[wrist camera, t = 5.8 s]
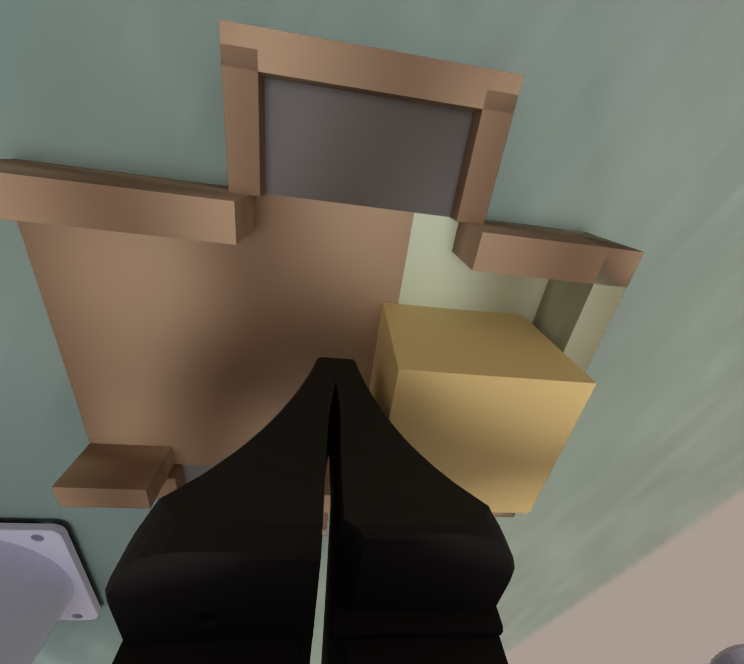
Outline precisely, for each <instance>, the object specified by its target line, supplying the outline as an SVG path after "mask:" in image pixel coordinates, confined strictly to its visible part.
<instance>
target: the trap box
mask: <svg viewBox="0 0 744 664" xmlns="http://www.w3.org/2000/svg"><path fill="white" fill-rule="evenodd" d="M219 29H220V47H221V65H222V82H223V100H224V118H225V135H226V153H227V171H228V186H220V185H212V184H204V183H196V182H189V181H181V180H173V179H165V178H157V177H150V176H142V175H134V174H126V173H118V172H111V171H103V170H95V169H87V168H80V167H72V166H64V165H56V164H48V163H41V162H33V161H25V160H17V159H0V219H6V220H15V221H17V222H18V225H19V228H20V231H21V234H22V237H23V240H24V244H25V247H26V250H27V253H28V256H29V259H30V262H31V265H32V268H33V271H34V274H35V277H36V280H37V283H38V286H39V289H40V292H41V295H42V298H43V301H44V304H45V307H46V310H47V313H48V316H49V319H50V322H51V325H52V328H53V331H54V335H55V338H56V341H57V344H58V347H59V350H60V353H61V356H62V359H63V362H64V365H65V368H66V371H67V374H68V377H69V380H70V383H71V386H72V389H73V392H74V395H75V398H76V401H77V404H78V407H79V410H80V413H81V416H82V419H83V422H84V426H85V429H86V432H87V435H88V438H89V441H90V444H89V445H88V446H87V447H86V449H85V450H84V451H83V452H82V453H81V454H80V455H79V457H78V458H77V459H76V460H75V461H74V462H73V463H72V464H71V466H70V467H69V468H68V469H67V470H66V471H65V472H64V474H63V475H62V476H61V477H60V478H59V479H58V480H57V482H56V483H55V484H54V485H53V486H52V489H53V492H54V494H55V496H56V499H57V501H58V503H59V506H65V507H108V508H151V506H152V505H153V503H154V501H155V499H156V497H157V495H158V500H159V499H160V498H161V497H163V496H165V495H167V494H169V493H171V492H172V491H174V490H176V489H178V488H179V487H181V486H183V485H185V484H186V483H188V482H190V481H192V480H193V479H195V478H197V477H199V476H200V475H202V474H204V473H205V472H207V471H208V470H210V469H211V468H213V467H214V466H215V465H217V464H218V463H220V462H221V461H222V460H224V459H225V458H227V457H228V456H230V455H231V454H232V453H234V452H235V451H237V450H238V449H239V448H240V447H242V446H243V445H244V444H245V443H247V442H248V441H249V440H250V439H251V438H253V437H254V436H255V435H256V434H257V433H258V432H259V431H261V430H262V429H263V428H264V427H265V426H266V425H267V424H268V423H269V422H270V421H271V420H272V419H273V418H274V417H275V416H276V415H277V414H278V413H279V412H280V411H281V410H282V409H283V408H284V406H285V405H286V404H287V403H288V402H289V400H290V399H291V398H292V397H293V396H294V395H295V393H296V392H297V391H298V389H299V388H300V386H301V385H302V384H303V382H304V381H305V379H306V378H307V376H308V375H309V373H310V372H311V370H312V368H313V366H314V364H315V362H316V360H317V359H318V358H319V357H328V358H341V359H353V360H354V361H355V362H356V364H357V367H358V369H359V371H360V374H361V376H362V378H363V380H364V382H365V384H366V385H367V387H368V389H369V388H370V382H371V375H372V369H373V362H374V356H375V349H376V343H377V336H378V330H379V323H380V317H381V310H382V304H383V302H385V303H395V304H406V305H416V306H427V307H438V308H448V309H459V310H470V311H480V312H491V313H501V314H512V315H522V316H524V317H525V318H526V319H528V320H529V321H530V322H531V323H532V324H533V325H534V326H535V327H536V328H537V329H538V330H539V331H540V332H542V333H543V334H544V335H545V336H546V337H547V338H548V339H549V340H550V341H551V342H552V343H553V344H554V345H556V346H557V347H558V348H559V349H560V350H561V351H562V352H563V353H564V354H565V355H566V356H567V357H568V358H569V359H571V360H572V361H573V362H574V363H575V364H576V365H577V366H578V367H579V368H580V369H581V370H582V371H583V372H585V371H586V369H587V367H588V365H589V363H590V361H591V359H592V357H593V355H594V353H595V351H596V349H597V347H598V345H599V343H600V341H601V339H602V337H603V335H604V333H605V331H606V329H607V327H608V325H609V323H610V321H611V319H612V317H613V315H614V313H615V310H616V308H617V306H618V304H619V302H620V300H621V298H622V296H623V294H624V292H625V290H626V288H627V286H628V284H629V282H630V280H631V278H632V276H633V274H634V272H635V270H636V268H637V266H638V264H639V262H640V260H641V258H642V256H643V254H644V252H642V251H639V250H636V249H633V248H630V247H627V246H624V245H621V244H619V243H616V242H613V241H610V240H607V239H604V238H601V237H598V236H595V235H592V234H589V233H586V232H578V231H570V230H563V229H555V228H547V227H539V226H531V225H524V224H516V223H508V222H500V221H492V220H485V217H486V214H487V210H488V206H489V203H490V199H491V195H492V191H493V188H494V184H495V180H496V177H497V173H498V169H499V165H500V162H501V158H502V154H503V151H504V147H505V143H506V139H507V136H508V132H509V128H510V124H511V121H512V117H513V113H514V110H515V106H516V102H517V98H518V95H519V91H520V87H521V84H522V80H523V76H524V75H521V74H515V73H510V72H504V71H499V70H493V69H488V68H482V67H477V66H471V65H466V64H460V63H455V62H449V61H444V60H438V59H433V58H427V57H422V56H416V55H411V54H405V53H400V52H394V51H389V50H383V49H378V48H372V47H367V46H361V45H356V44H350V43H345V42H339V41H334V40H328V39H323V38H317V37H312V36H306V35H301V34H295V33H290V32H284V31H279V30H273V29H268V28H262V27H257V26H251V25H246V24H240V23H235V22H229V21H224V20H219ZM328 513H330V475H329V456H328V462H327V468H326V474H325V491H324V512H323V531H322V535H326V529H327V520H328ZM492 513H493V515H494V517H514V515H515V513H497V512H492Z"/></svg>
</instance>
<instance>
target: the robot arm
mask: <svg viewBox="0 0 744 664" xmlns="http://www.w3.org/2000/svg"><path fill="white" fill-rule="evenodd" d="M328 456H329V475H330V525H329V543H328V561H327V579H326V596H325V612H324V629H323V645H322V662H321V664H508V662H507V659H506V656H505V653H504V649H503V646H502V643H501V640H500V637H499V635H501V634H502V632H503V625H502V622H501V619H500V616H499V613H498V610H497V607H496V605H497V603H498V602H499V600H500V598H501V596H502V595H503V593H504V591H505V589H506V587H507V586H508V584H509V582H510V580H511V577H512V574H513V571H514V568H515V567H514V560H513V556H512V554H511V551H510V549H509V546H508V544H507V541H506V539H505V537H504V535H503V532H502V530H501V528H500V526H499V524H498V523H497V521H496V519H495V517H494V515H493V513H492V512H491V510H490V507H489V506H488V505H486V504H485V503H483V502H482V501H481V500H479V499H478V498H476V497H475V496H473V495H472V494H470V493H469V492H467V491H466V490H464V489H463V488H462V487H460V486H459V485H457V484H456V483H454V482H453V481H452V480H450V479H449V478H448V477H447V476H445V475H444V474H443V473H442V472H440V471H439V470H438V469H437V468H435V467H434V466H433V465H432V464H431V463H430V462H428V461H427V460H426V459H425V458H424V457H423V456H422V455H421V454H420V453H419V452H418V451H417V450H416V449H415V448H413V447H412V446H411V445H410V444H409V442H408V441H407V440H406V439H405V438H404V437H403V436H402V435H401V434H400V433H399V431H398V430H397V429H396V428H395V427H394V425H393V424H392V423H391V422H390V420H389V419H388V418H387V416H386V415H385V414H384V412H383V411H382V409H381V408H380V407H379V405H378V403H377V402H376V400H375V399H374V397H373V396H372V394H371V392H370V391H369V389H368V387H367V385H366V384H365V382H364V380H363V378H362V376H361V374H360V371H359V369H358V367H357V364H356V362H355V361H354V360H353V359H341V358H328V357H319V358H318V359H317V360H316V362H315V364H314V366H313V368H312V370H311V372H310V373H309V375H308V376H307V378H306V379H305V381H304V382H303V384H302V385H301V386H300V388H299V389H298V391H297V392H296V393H295V395H294V396H293V397H292V398H291V399H290V400H289V402H288V403H287V404H286V405H285V406H284V408H283V409H282V410H281V411H280V412H279V413H278V414H277V415H276V416H275V417H274V418H273V419H272V420H271V421H270V422H269V423H268V424H267V425H266V426H265V427H264V428H263V429H262V430H261V431H259V432H258V433H257V434H256V435H255V436H254V437H253V438H251V439H250V440H249V441H248V442H247V443H245V444H244V445H243V446H242V447H240V448H239V449H238V450H237V451H235V452H234V453H232V454H231V455H230V456H228V457H227V458H225V459H224V460H222V461H221V462H220V463H218V464H217V465H215V466H214V467H213V468H211V469H210V470H208V471H207V472H205V473H204V474H202V475H200V476H199V477H197V478H195V479H193V480H192V481H190V482H188V483H186V484H185V485H183V486H181V487H179V488H178V489H176V490H174V491H172V492H171V493H169V494H167V495H165V496H163V497H161V498H160V499H159V500H158V501H157V503H156V504H155V505H154V507H153V508H152V510H151V511H150V512H149V514H148V515H147V517H146V518H145V520H144V521H143V522H142V524H141V525H140V527H139V528H138V529H137V531H136V532H135V534H134V536H133V537H132V539H131V541H130V542H129V544H128V546H127V548H126V550H125V551H124V553H123V555H122V557H121V559H120V561H119V562H118V564H117V566H116V568H115V570H114V571H113V573H112V575H111V577H110V579H109V581H108V584H107V586H106V589H105V592H106V598H107V603H108V605H109V608H110V610H111V612H112V615H113V617H114V620H115V622H116V624H117V627H118V629H119V631H120V634H121V636H122V639H123V641H122V643H121V645H120V648H119V650H118V652H117V654H116V656H115V659H114V661H113V663H112V664H310V655H311V645H312V638H313V629H314V619H315V609H316V600H317V590H318V580H319V570H320V561H321V547H322V531H323V512H324V491H325V474H326V468H327V462H328ZM100 611H101V607H100V605H99V602H98V600H97V598H96V596H95V593H94V591H93V589H92V586H91V584H90V582H89V580H88V577H87V575H86V573H85V571H84V568H83V566H82V564H81V562H80V559H79V557H78V555H77V552H76V550H75V548H74V546H73V543H72V541H71V539H70V537H69V534H68V532H67V530H66V529H65V527H63V526H61V525H58V524H45V523H0V664H32V662H33V661H34V659H35V658H36V656H37V654H38V653H39V651H40V649H41V648H42V646H43V645H44V643H45V641H46V640H47V638H48V636H49V635H50V633H51V632H52V630H53V628H54V627H55V625H56V623H57V622H58V620H93V619H96V618H97V617H98V615H99V613H100ZM710 664H744V644H740V645H734V646H731V647H729V648H726V649H724V650H723V651H721V652H719V653H718V654H717V655H716V656H715V657H714V658H713V659H712V660H711V663H710Z"/></svg>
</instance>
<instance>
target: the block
mask: <svg viewBox="0 0 744 664" xmlns="http://www.w3.org/2000/svg"><path fill="white" fill-rule="evenodd" d="M595 385H596V383H595V382H594V381H593V380H592V379H591V378H590V377H589V376H588V375H587V374H586V373H585V372H583V371H582V370H581V369H580V368H579V367H578V366H577V365H576V364H575V363H574V362H573V361H572V360H571V359H569V358H568V357H567V356H566V355H565V354H564V353H563V352H562V351H561V350H560V349H559V348H558V347H557V346H556V345H554V344H553V343H552V342H551V341H550V340H549V339H548V338H547V337H546V336H545V335H544V334H543V333H542V332H540V331H539V330H538V329H537V328H536V327H535V326H534V325H533V324H532V323H531V322H530V321H529V320H528V319H526V318H525V317H524V316H522V315H512V314H501V313H491V312H480V311H470V310H459V309H448V308H438V307H427V306H416V305H406V304H395V303H385V302H383V304H382V310H381V317H380V323H379V330H378V336H377V343H376V349H375V356H374V362H373V369H372V375H371V382H370V388H369V391H370V392H371V394H372V396H373V397H374V399H375V400H376V402H377V403H378V405H379V407H380V408H381V409H382V411H383V412H384V414H385V415H386V416H387V418H388V419H389V420H390V422H391V423H392V424H393V425H394V427H395V428H396V429H397V430H398V431H399V433H400V434H401V435H402V436H403V437H404V438H405V439H406V440H407V441H408V442H409V444H410V445H411V446H412V447H413V448H415V449H416V450H417V451H418V452H419V453H420V454H421V455H422V456H423V457H424V458H425V459H426V460H427V461H428V462H430V463H431V464H432V465H433V466H434V467H435V468H437V469H438V470H439V471H440V472H442V473H443V474H444V475H445V476H447V477H448V478H449V479H450V480H452V481H453V482H454V483H456V484H457V485H459V486H460V487H462V488H463V489H464V490H466V491H467V492H469V493H470V494H472V495H473V496H475V497H476V498H478V499H479V500H481V501H482V502H483V503H485V504H486V505H488V506H489V507H490V510H491V512H497V513H529V512H530V511H531V509H532V507H533V505H534V503H535V501H536V499H537V497H538V495H539V493H540V491H541V489H542V487H543V485H544V484H545V482H546V480H547V478H548V476H549V474H550V472H551V470H552V468H553V466H554V464H555V462H556V460H557V459H558V457H559V455H560V453H561V451H562V449H563V447H564V445H565V443H566V441H567V439H568V437H569V435H570V434H571V432H572V430H573V428H574V426H575V424H576V422H577V420H578V418H579V416H580V414H581V412H582V410H583V409H584V407H585V405H586V403H587V401H588V399H589V397H590V395H591V393H592V391H593V389H594V387H595Z"/></svg>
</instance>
